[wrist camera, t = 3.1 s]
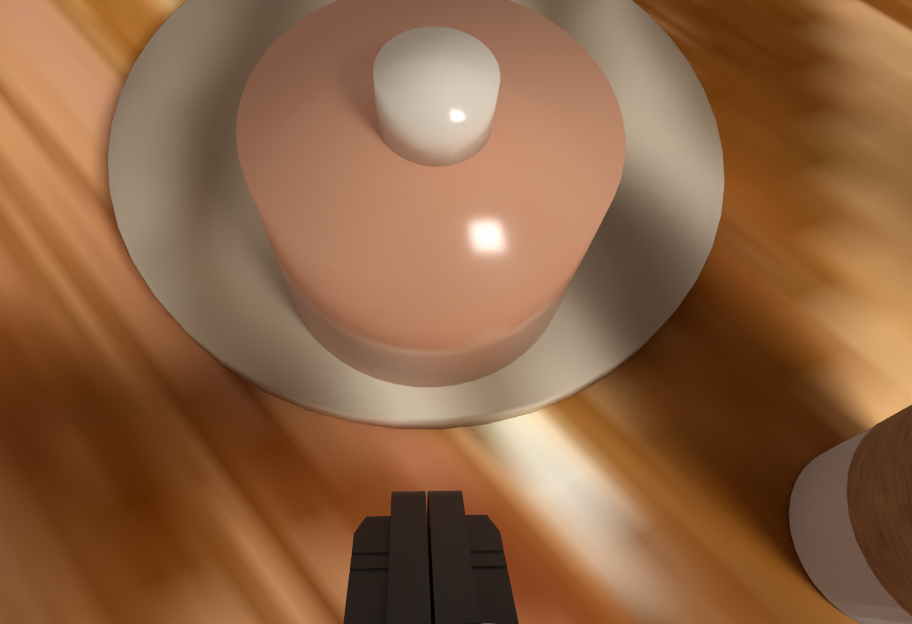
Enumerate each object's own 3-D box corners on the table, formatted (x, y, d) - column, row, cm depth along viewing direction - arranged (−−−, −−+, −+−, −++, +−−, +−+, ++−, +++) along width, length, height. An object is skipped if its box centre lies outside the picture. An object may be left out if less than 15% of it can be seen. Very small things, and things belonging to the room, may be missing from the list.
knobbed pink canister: (528, 129, 25) (580, -80, 18) (599, 360, 22) (707, 223, 14) (274, 158, 24) (209, -55, 16) (300, 411, 20) (230, 291, 12)
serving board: (612, -63, 33) (620, -92, 32) (801, 367, 24) (825, 352, 22) (127, -28, 30) (113, -58, 28) (119, 490, 20) (99, 482, 19)
